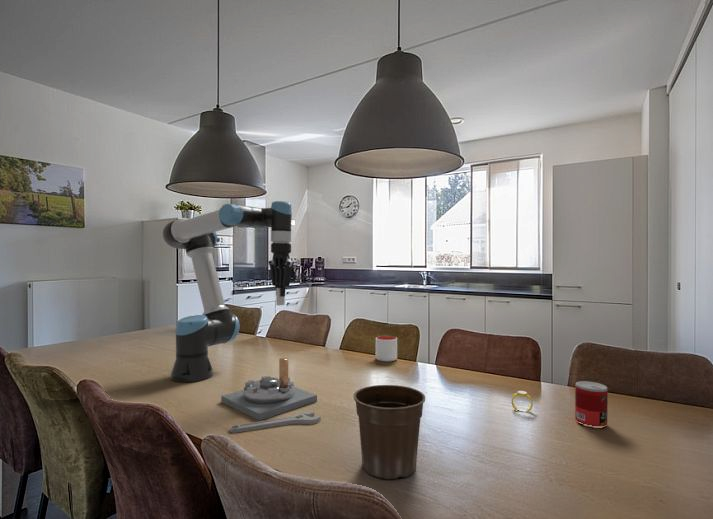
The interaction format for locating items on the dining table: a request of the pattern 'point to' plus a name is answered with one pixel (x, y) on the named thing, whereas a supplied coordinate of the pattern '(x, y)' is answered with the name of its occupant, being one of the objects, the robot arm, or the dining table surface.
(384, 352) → the cup
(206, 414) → the dining table surface
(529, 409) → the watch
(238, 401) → the base plate
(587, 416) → the canned food
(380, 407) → the plant pot
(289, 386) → the metal rotary base
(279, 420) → the adjustable wrench
